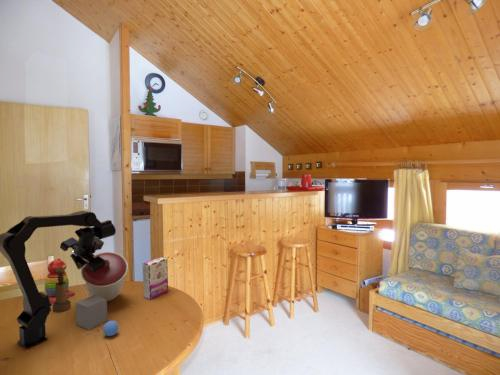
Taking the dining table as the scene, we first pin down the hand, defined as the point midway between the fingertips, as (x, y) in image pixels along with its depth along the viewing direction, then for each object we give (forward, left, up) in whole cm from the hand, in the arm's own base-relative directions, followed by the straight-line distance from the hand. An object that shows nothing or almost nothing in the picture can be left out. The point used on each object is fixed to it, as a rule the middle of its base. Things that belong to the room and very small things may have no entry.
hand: (79, 268), depth 128 cm
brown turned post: (-3, +8, -18) cm, 20 cm away
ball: (-6, -28, -15) cm, 33 cm away
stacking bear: (+2, +20, -18) cm, 27 cm away
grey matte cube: (-4, -14, -18) cm, 23 cm away
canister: (+12, +1, -14) cm, 19 cm away
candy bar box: (+27, -16, -18) cm, 36 cm away
